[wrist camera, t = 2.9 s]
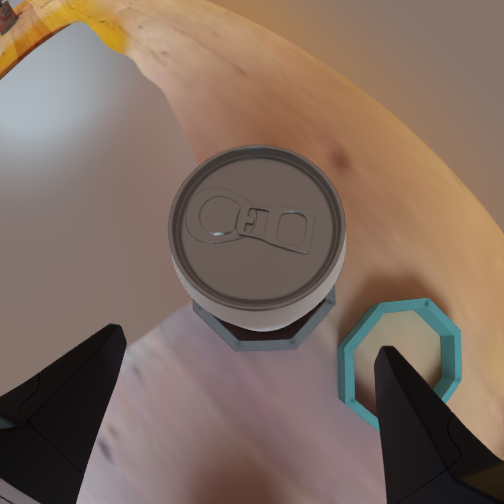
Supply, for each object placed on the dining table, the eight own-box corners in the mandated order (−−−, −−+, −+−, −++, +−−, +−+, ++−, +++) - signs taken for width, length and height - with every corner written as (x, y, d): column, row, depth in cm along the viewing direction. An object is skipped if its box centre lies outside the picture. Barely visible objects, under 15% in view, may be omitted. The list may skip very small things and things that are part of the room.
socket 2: (395, 444, 17) (406, 452, 15) (311, 375, 19) (316, 379, 17) (465, 351, 19) (479, 351, 17) (391, 278, 21) (402, 272, 19)
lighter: (8, 31, 40) (-9, 7, 30) (-1, 37, 40) (-18, 14, 31) (21, 15, 42) (6, -8, 33) (12, 21, 42) (-3, -2, 33)
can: (228, 230, 22) (188, 125, 11) (318, 248, 22) (365, 153, 10) (207, 320, 21) (131, 298, 9) (301, 340, 20) (342, 344, 8)
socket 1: (267, 375, 19) (266, 379, 17) (174, 286, 21) (165, 281, 19) (353, 279, 21) (361, 273, 19) (260, 199, 23) (259, 187, 21)
